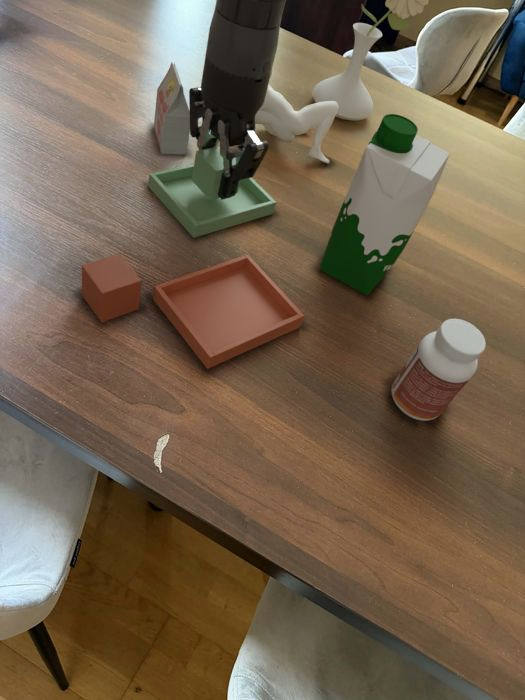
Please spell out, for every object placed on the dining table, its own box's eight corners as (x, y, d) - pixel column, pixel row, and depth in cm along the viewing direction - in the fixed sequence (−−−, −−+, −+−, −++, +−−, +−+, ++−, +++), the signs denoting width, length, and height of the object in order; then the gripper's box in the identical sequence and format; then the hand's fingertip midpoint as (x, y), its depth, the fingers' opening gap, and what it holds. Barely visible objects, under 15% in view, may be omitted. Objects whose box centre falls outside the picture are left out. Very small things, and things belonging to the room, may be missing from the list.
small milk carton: (178, 128, 88) (186, 63, 80) (186, 154, 84) (195, 88, 76) (153, 126, 86) (160, 60, 79) (161, 153, 82) (168, 86, 75)
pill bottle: (447, 425, 63) (501, 364, 55) (395, 420, 62) (442, 357, 53) (434, 379, 67) (483, 316, 59) (385, 373, 66) (428, 308, 57)
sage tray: (193, 238, 73) (195, 225, 71) (147, 186, 77) (149, 173, 76) (273, 213, 80) (276, 202, 78) (227, 167, 84) (229, 155, 83)
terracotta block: (101, 323, 61) (102, 293, 58) (81, 294, 63) (81, 264, 59) (139, 309, 63) (142, 280, 60) (118, 282, 65) (120, 253, 62)
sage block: (210, 200, 75) (215, 171, 71) (191, 180, 77) (196, 150, 73) (237, 193, 77) (244, 164, 74) (218, 173, 79) (224, 144, 76)
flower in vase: (305, 114, 99) (356, -51, 81) (313, 85, 107) (361, -72, 88) (377, 137, 100) (443, -21, 81) (379, 107, 108) (441, -44, 89)
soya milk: (336, 237, 80) (394, 100, 65) (394, 268, 78) (467, 136, 63) (310, 270, 74) (366, 128, 59) (371, 304, 73) (445, 168, 58)
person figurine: (340, 65, 89) (236, 31, 81) (361, 126, 84) (252, 97, 76) (299, 127, 100) (203, 102, 91) (315, 185, 95) (215, 165, 86)
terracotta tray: (207, 369, 60) (210, 357, 59) (152, 298, 65) (153, 285, 63) (300, 327, 67) (305, 315, 66) (244, 265, 72) (248, 253, 70)
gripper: (176, 28, 65) (162, 160, 77) (251, 95, 59) (222, 225, 72) (230, 24, 69) (208, 150, 81) (304, 86, 63) (268, 211, 76)
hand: (214, 184), depth 77 cm, fingers closed on sage block, 4 cm apart
